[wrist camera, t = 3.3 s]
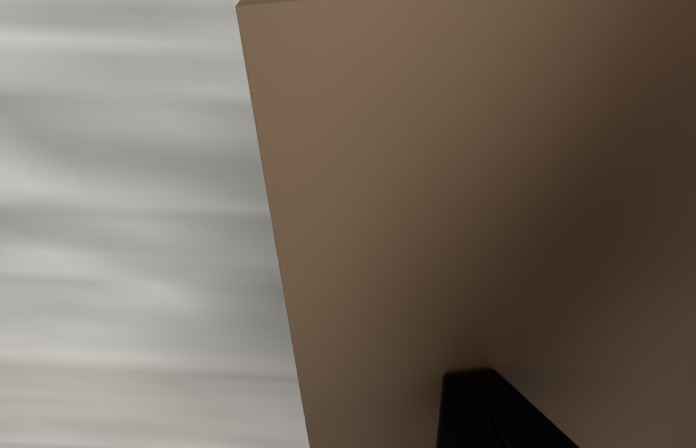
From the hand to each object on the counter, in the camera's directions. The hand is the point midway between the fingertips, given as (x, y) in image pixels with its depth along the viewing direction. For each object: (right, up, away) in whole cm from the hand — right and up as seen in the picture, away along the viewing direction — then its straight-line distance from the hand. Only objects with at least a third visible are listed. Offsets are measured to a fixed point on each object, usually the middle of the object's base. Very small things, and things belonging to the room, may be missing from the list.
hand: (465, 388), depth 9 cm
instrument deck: (+8, +1, +1) cm, 8 cm away
